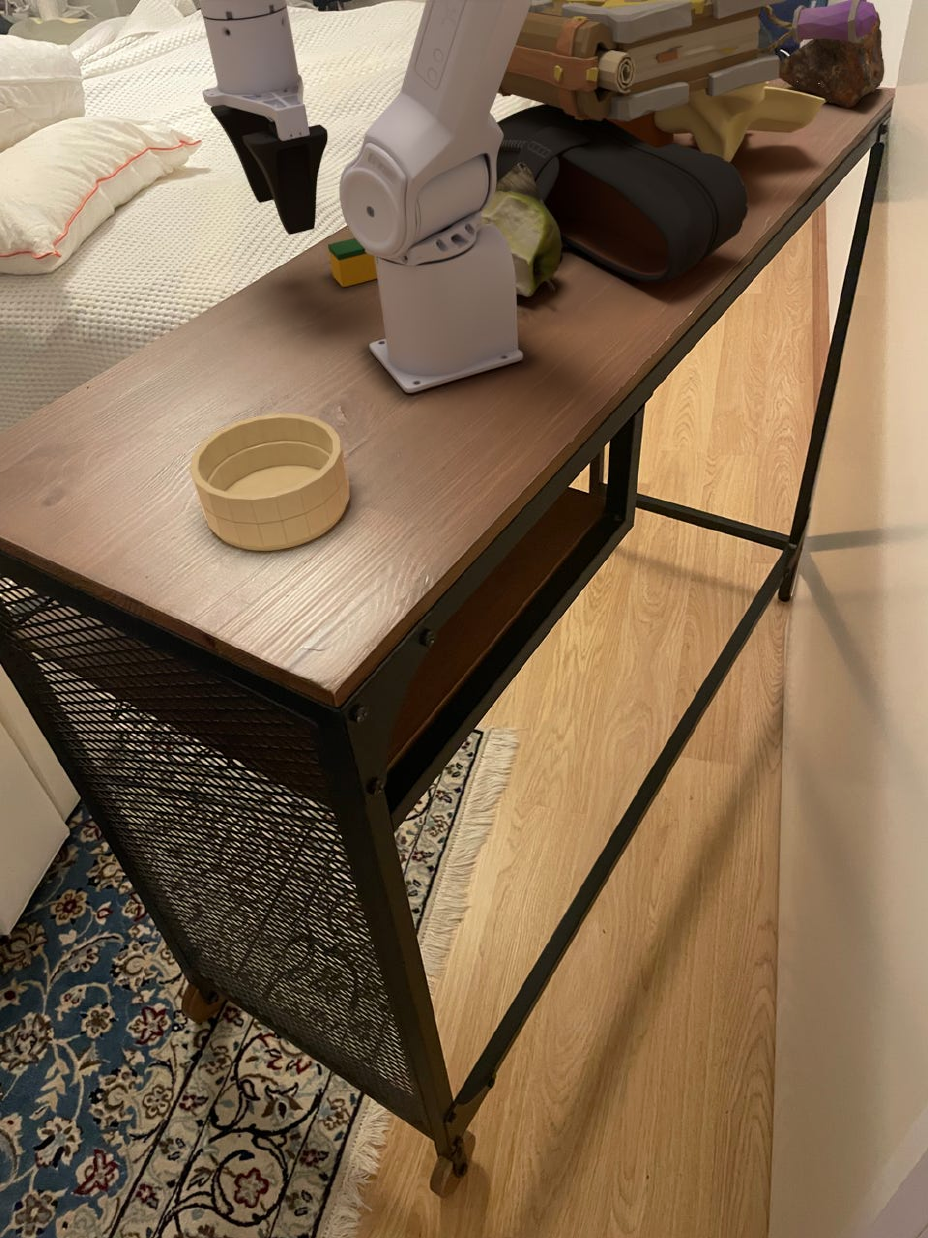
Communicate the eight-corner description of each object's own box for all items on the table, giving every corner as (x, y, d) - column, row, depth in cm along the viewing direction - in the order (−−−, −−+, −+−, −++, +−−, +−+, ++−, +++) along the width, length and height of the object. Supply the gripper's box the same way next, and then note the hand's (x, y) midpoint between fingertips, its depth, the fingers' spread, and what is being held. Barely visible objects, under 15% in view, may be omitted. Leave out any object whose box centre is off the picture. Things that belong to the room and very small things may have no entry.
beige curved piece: (724, 61, 80) (711, 141, 82) (867, 103, 90) (852, 174, 92) (571, 95, 99) (563, 160, 100) (703, 127, 108) (694, 186, 110)
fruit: (599, 215, 76) (570, 286, 73) (532, 272, 84) (504, 338, 81) (511, 138, 73) (477, 208, 69) (450, 205, 80) (417, 271, 77)
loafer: (496, 81, 87) (402, 126, 82) (762, 151, 73) (670, 212, 68) (501, 186, 95) (415, 235, 89) (744, 269, 81) (659, 332, 75)
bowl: (324, 451, 64) (313, 398, 61) (371, 523, 57) (361, 469, 55) (193, 491, 61) (175, 438, 58) (227, 571, 55) (210, 517, 52)
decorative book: (632, 155, 71) (633, -11, 64) (458, 95, 89) (443, -39, 82) (876, 75, 79) (901, -82, 71) (670, 34, 97) (674, -94, 89)
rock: (774, 109, 115) (842, 52, 114) (842, 163, 110) (915, 103, 108) (762, 17, 103) (839, -49, 102) (839, 72, 98) (921, 3, 96)
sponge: (375, 265, 84) (370, 233, 82) (385, 276, 83) (381, 243, 81) (333, 276, 83) (327, 244, 81) (342, 287, 82) (337, 254, 80)
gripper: (162, 2, 68) (211, 196, 77) (214, 41, 58) (262, 259, 67) (257, -15, 70) (293, 177, 79) (322, 21, 60) (354, 235, 69)
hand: (285, 214), depth 73 cm, fingers open, 7 cm apart
